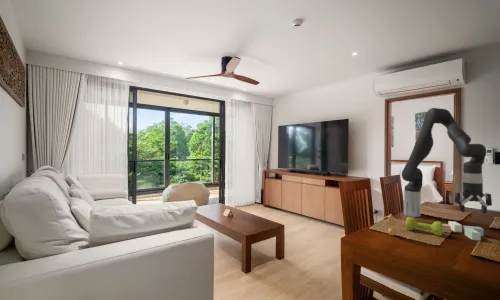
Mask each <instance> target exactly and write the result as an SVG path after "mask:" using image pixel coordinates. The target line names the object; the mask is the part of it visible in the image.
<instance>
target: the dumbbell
mask: <svg viewBox="0 0 500 300" xmlns="http://www.w3.org/2000/svg"><path fill="white" fill-rule="evenodd" d="M442 224H443V223H442V222H441V221H439V220H436V221H433V222H432V224H430V223H425V222H417V221H416V220H415V217H411V216H406V220H405V228H406V230H407V231H409V232H410V231H414V229H416V228H418V229H424V230H427V231H428V230H429V231H432V233H433V234H434V235H435V236H437V235H438V236H437V237H442V236H443V233H444V232H443V225H442Z"/></svg>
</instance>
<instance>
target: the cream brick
mask: <svg viewBox="0 0 500 300" xmlns="http://www.w3.org/2000/svg"><path fill="white" fill-rule="evenodd" d="M447 223H448V225H450V226H451V231H453V232H455V233H463V224H461V223H459V222H457V221H451V220H448V222H447Z"/></svg>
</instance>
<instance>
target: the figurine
mask: <svg viewBox="0 0 500 300" xmlns="http://www.w3.org/2000/svg"><path fill="white" fill-rule="evenodd" d="M386 218H387V219H388V220H387V222H388V224H389V228H388V230H387V232H388V235H390V236H396V235H397V230H396V229H395V228H394V227H395V222H394V220H395V221H396V222H397V223H399V225H401V223H400V221H398V219H397V218H395V217H394V216H393V214H392V213H390V214H389V215H386V216H383V219H382V220H383V221H385V219H386ZM391 224H392V225H391ZM391 226H392V227H391Z"/></svg>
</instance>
